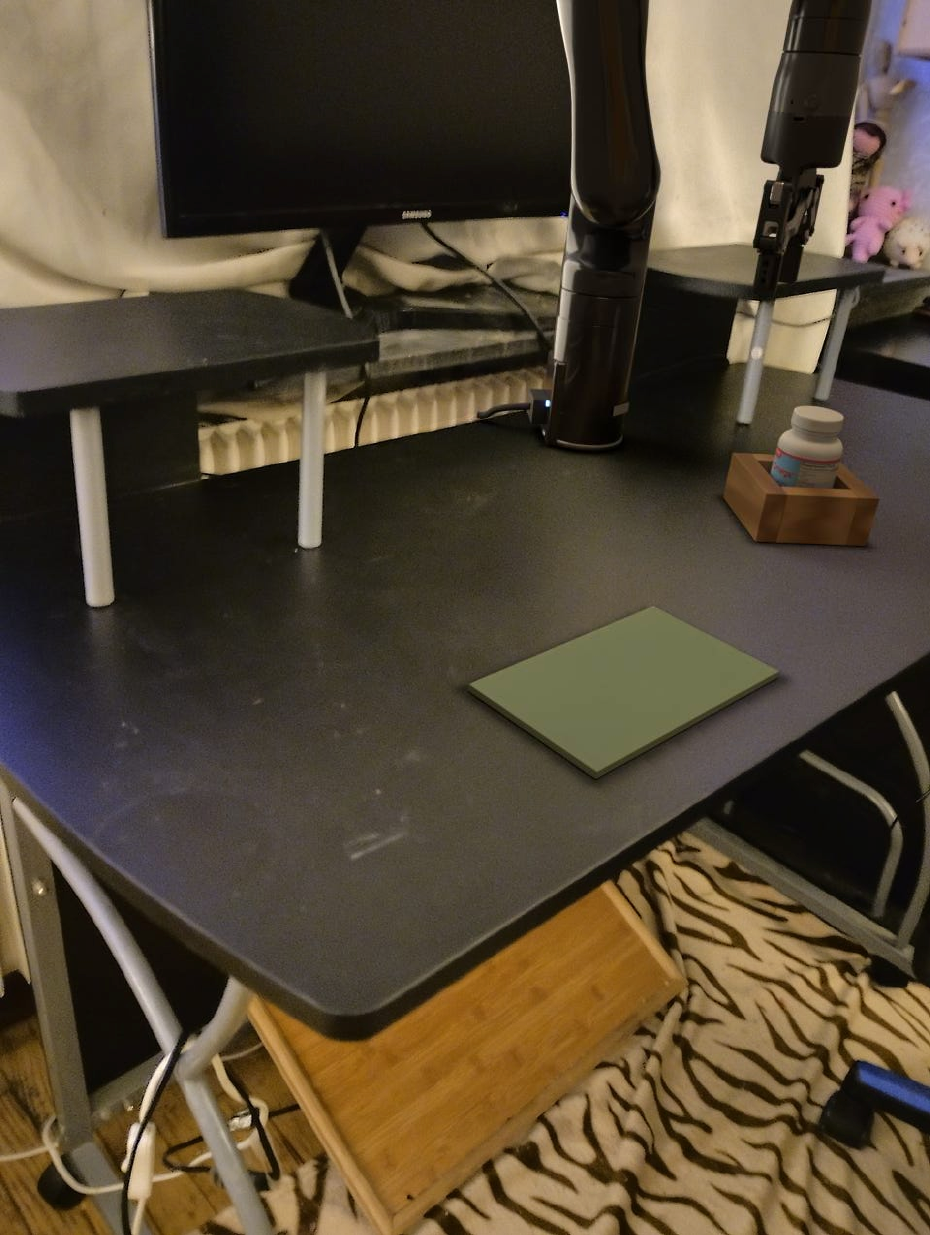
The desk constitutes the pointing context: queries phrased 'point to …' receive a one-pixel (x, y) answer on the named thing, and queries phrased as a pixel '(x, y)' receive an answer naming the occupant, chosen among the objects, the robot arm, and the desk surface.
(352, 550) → the desk surface
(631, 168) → the robot arm
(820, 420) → the pill bottle
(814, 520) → the stand
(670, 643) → the mat
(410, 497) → the desk surface
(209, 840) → the desk surface
